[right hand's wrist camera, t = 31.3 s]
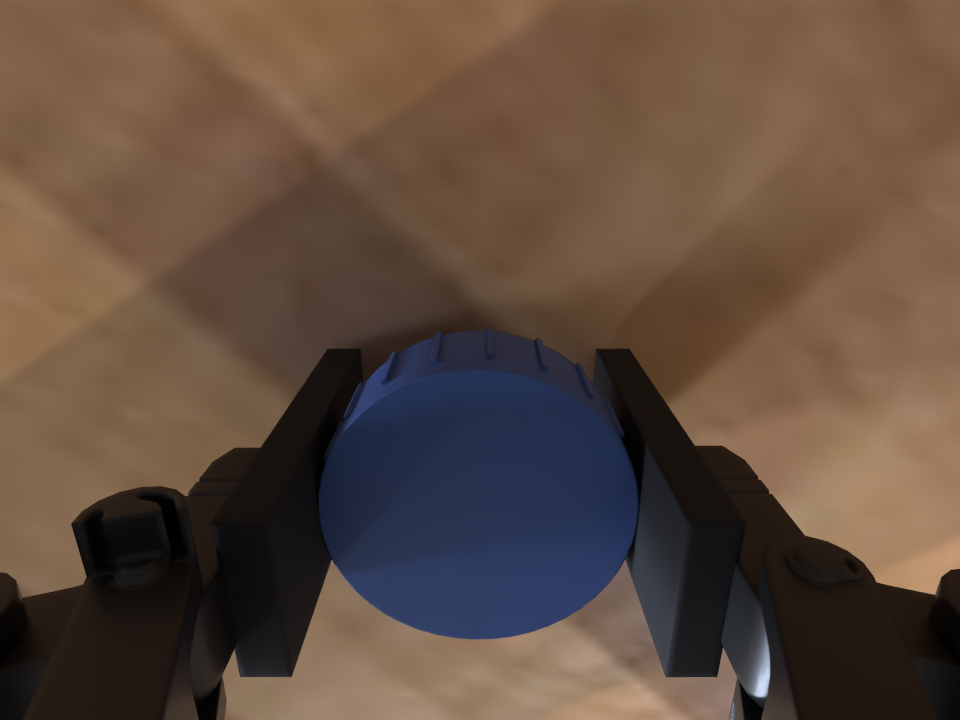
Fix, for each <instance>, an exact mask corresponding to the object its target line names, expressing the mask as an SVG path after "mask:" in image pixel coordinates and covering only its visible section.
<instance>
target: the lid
mask: <svg viewBox="0 0 960 720" xmlns="http://www.w3.org/2000/svg"><path fill="white" fill-rule="evenodd" d="M343 418H344V421H340V423H339V425H338V427H337V429H336V431H335V433H334V435H333V438H332V440H331V442H330V444H329V446H328V448H327V450H326V452H325V454H324V457H323V461H326V462H325V465H324V468H323V471H322V474H321V478H320V484H319V491H318V515H319V522H320V528H321V532H322V535H323V538H324V542H325V545H326V548H327V550H328V552H329V554H330V556H331V558H332V560H333V562H334V564H335V565H336V567H337V568H338V570H339V571H340V573H341V574H342V576H343V577H344V579H345V580H346V581H347V582H348V583H349V584H350V585H351V586H352V588H353V589H354V590H355V591H356V592H357V593H358V594H359V595H361V596H362V597H363V598H364V599H365V600H366V601H367V602H368V603H370V604H371V605H373V606H374V607H375V608H377V609H378V610H380V611H381V612H383V613H384V614H386V615H388V616H390V617H391V618H393V619H395V620H397V621H399V622H401V623H403V624H406V625H408V626H411V627H413V628H416V629H418V630H422V631H425V632H429V633H432V634H436V635H441V636H447V637H452V638H462V639H497V638H504V637H512V636H517V635H521V634H525V633H529V632H533V631H536V630H539V629H541V628H544V627H547V626H550V625H552V624H554V623H556V622H558V621H560V620H562V619H565V618H566V617H568V616H570V615H571V614H573V613H575V612H576V611H578V610H579V609H581V608H582V607H584V606H585V605H586V604H587V603H589V602H590V601H591V600H592V599H594V598H595V597H596V596H597V595H598V594H599V593H600V592H601V591H602V590H603V589H604V588H605V587H606V586H607V585H608V584H609V582H610V581H611V580H612V579H613V577H614V576H615V575H616V573H617V572H618V571H619V569H620V567H621V565H622V564H623V562H624V560H625V558H626V557H627V555H628V552H629V550H630V547H631V545H632V542H633V540H634V536H635V532H636V527H637V523H638V514H639V493H638V483H637V479H636V475H635V471H634V467H633V465H632V462H631V460H630V458H629V455H628V453H627V451H626V448H625V446H624V444H623V442H622V439H621V437H623V436H625V434H624V432H623V430H622V428H621V426H620V423H619V421H618V419H617V417H616V415H615V413H614V410H613V408H612V406H611V404H610V402H609V400H608V398H606V399H604V400H603V398H602V396H601V395H600V393H599V391H598V390H597V388H596V387H595V386H594V384H593V383H592V382H591V381H590V380H589V378H588V377H587V376H586V374H585V372H584V369H583V367H582V365H580V364H579V363H577V364H576V365H574V364H573V363H572V362H571V361H569V360H568V359H567V358H565V357H564V356H562V355H561V354H559V353H558V352H556V351H554V350H552V349H550V348H548V347H546V346H544V345H543V344H542V340H540V339H538V338H536V340H535V341H532V340H530V339H527V338H524V337H521V336H516V335H512V334H507V333H503V332H493V328H487V330H486V331H463V332H456V333H450V334H444V335H443V334H442V332H438V333H436V336H435V337H434V338H430V339H427V340H424V341H422V342H420V343H417V344H415V345H413V346H410V347H408V348H407V349H405V350H403V351H402V352H400V353H397V351H394V352H393V353H391V355H390V358H389V360H388V361H387V362H386V363H384V364H383V365H382V366H381V367H379V368H378V369H377V370H376V371H375V372H374V373H373V374H372V376H371V377H370V378H369V379H368V380H367V381H366V382H365V384H364V383H362V382H360V383H359V385H358V386H357V388H356V390H355V393H354V395H353V397H352V399H351V401H350V403H349V405H348V408H347V410H346V412H345V414H344V416H343Z"/></svg>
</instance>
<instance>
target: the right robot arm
mask: <svg viewBox="0 0 960 720" xmlns="http://www.w3.org/2000/svg"><path fill="white" fill-rule="evenodd" d="M360 382H362V383H363V377H362V364H361V351H360V349H327V351H326V352H325V354H324V355H323V357H322V358H321V360H320V361H319V362H318V364H317V365H316V367H315V368H314V370H313V371H312V373H311V374H310V376H309V377H308V379H307V380H306V382H305V383H304V385H303V386H302V388H301V389H300V391H299V392H298V394H297V395H296V396H295V398H294V399H293V401H292V402H291V404H290V405H289V407H288V408H287V410H286V411H285V413H284V414H283V416H282V417H281V419H280V420H279V422H278V423H277V425H276V426H275V427H274V429H273V430H272V432H271V433H270V435H269V436H268V438H267V439H266V441H265V442H264V444H263V445H262V447H261V448H234V449H232V450H231V451H229V452H228V453H226V454H224V455H223V456H221V457H220V458H218V459H217V460H215V461H213V462H212V463H211V465H210V466H209V467H208V469H207V470H206V471H205V472H204V474H203V475H202V476H201V477H200V479H199V482H196V484H195V485H194V486H193V487H192V489H191V490H190V491H189V493H188V496H184V495H182V494H181V493H180V492H179V491H177V490H176V489H171V488H166V487H162V486H157V487H140V488H136V489H131V490H127V491H123V492H119V493H116V494H114V495H112V496H109V497H107V498H104V499H102V500H99V501H98V502H96V503H95V504H93V505H91V506H90V507H88V508H87V509H85V510H84V511H82V512H81V513H80V514H79V516H78V517H77V518H76V519H75V520H74V521H73V522H72V523H71V525H72V528H73V532H74V535H75V538H76V542H77V545H78V549H79V552H80V556H81V559H82V562H83V566H84V569H85V573H86V576H87V577H86V580H85V582H84V584H83V585H80V586H76V587H73V588H68V589H63V590H59V591H54V592H49V593H44V594H40V595H35V596H30V597H25V598H22V596H21V593H20V590H19V588H18V585H17V582H16V580H15V579H14V578H12V577H11V576H10V575H8V574H7V573H0V720H224V717H225V708H226V694H225V687H224V682H223V677H222V674H223V672H224V670H225V668H226V666H227V664H228V662H229V659H230V657H231V655H232V653H233V651H234V649H235V653H236V658H237V663H238V668H239V674H240V677H292V674H293V671H294V668H295V665H296V662H297V659H298V656H299V653H300V650H301V647H302V645H303V642H304V639H305V636H306V633H307V630H308V627H309V624H310V621H311V618H312V615H313V612H314V609H315V606H316V604H317V601H318V598H319V595H320V592H321V589H322V586H323V583H324V580H325V577H326V574H327V571H328V568H329V565H330V563H331V560H332V558H331V556H330V554H329V552H328V550H327V548H326V545H325V542H324V538H323V535H322V532H321V528H320V522H319V515H318V491H319V484H320V478H321V474H322V471H323V468H324V465H325V462H326V461H323V457H324V454H325V452H326V450H327V448H328V446H329V444H330V442H331V440H332V438H333V435H334V433H335V431H336V429H337V427H338V425H339V423H340V421H344V418H343V416H344V414H345V412H346V410H347V408H348V405H349V403H350V401H351V399H352V397H353V395H354V393H355V390H356V388H357V386H358V385H359V383H360ZM594 386H595V387H596V388H597V390H598V391H599V393H600V395H601V396H602V398H603V400H604V399H606V398H608V400H609V402H610V404H611V406H612V408H613V410H614V413H615V415H616V417H617V419H618V421H619V423H620V426H621V428H622V430H623V432H624V434H625V436H623V437H621V439H622V442H623V444H624V446H625V448H626V451H627V453H628V455H629V458H630V460H631V462H632V465H633V467H634V471H635V475H636V479H637V483H638V493H639V514H638V523H637V527H636V532H635V536H634V540H633V542H632V545H631V547H630V550H629V552H628V555H627V557H626V558H625V559H626V562H627V565H628V568H629V571H630V574H631V577H632V580H633V583H634V586H635V588H636V591H637V594H638V597H639V600H640V603H641V606H642V609H643V612H644V615H645V618H646V621H647V624H648V626H649V629H650V632H651V635H652V638H653V641H654V644H655V647H656V650H657V653H658V656H659V659H660V661H661V664H662V667H663V670H664V673H665V676H666V677H717V675H718V670H719V665H720V659H721V654H722V649H723V647H724V650H725V652H726V654H727V656H728V658H729V660H730V662H731V664H732V667H733V669H734V671H735V673H736V675H737V682H736V687H735V692H734V697H733V702H732V706H731V711H730V716H729V720H960V569H955V570H950V571H949V572H948V573H946V574H945V575H944V576H942V577H941V580H940V583H939V586H938V589H937V591H936V594H935V595H932V594H927V593H923V592H918V591H913V590H908V589H903V588H898V587H894V586H889V585H884V584H881V583H877V582H876V581H875V579H874V576H873V575H872V574H871V572H870V571H869V570H868V568H867V567H866V566H865V564H864V563H863V562H862V561H860V560H859V559H858V558H856V557H855V556H854V555H852V554H851V553H850V552H848V551H847V550H845V549H842V548H840V547H838V546H836V545H834V544H832V543H830V542H827V541H824V540H820V539H816V538H812V537H808V536H805V535H804V534H803V533H802V531H801V530H800V529H799V528H798V526H797V525H796V524H795V523H794V521H793V520H792V519H791V518H790V516H789V515H788V514H787V513H786V511H785V510H784V509H783V508H782V506H781V505H780V504H779V502H778V501H777V500H776V499H775V497H774V496H773V495H772V494H769V490H768V489H767V487H766V486H765V485H764V484H763V482H762V481H761V480H758V476H757V475H756V474H755V472H754V471H753V470H752V469H751V467H750V466H749V465H748V464H747V462H746V461H745V460H744V459H742V458H741V457H739V456H738V455H736V454H734V453H733V452H731V451H730V450H728V449H727V448H725V447H723V446H695V445H694V444H693V442H692V441H691V440H690V438H689V437H688V435H687V434H686V432H685V431H684V429H683V428H682V426H681V425H680V423H679V422H678V420H677V419H676V417H675V416H674V414H673V413H672V411H671V410H670V409H669V407H668V406H667V404H666V403H665V401H664V400H663V398H662V397H661V395H660V394H659V392H658V391H657V389H656V388H655V386H654V385H653V383H652V382H651V380H650V379H649V378H648V376H647V375H646V373H645V372H644V370H643V369H642V367H641V366H640V364H639V363H638V361H637V360H636V358H635V357H634V355H633V354H632V352H631V351H630V349H596V362H595V376H594Z"/></svg>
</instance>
